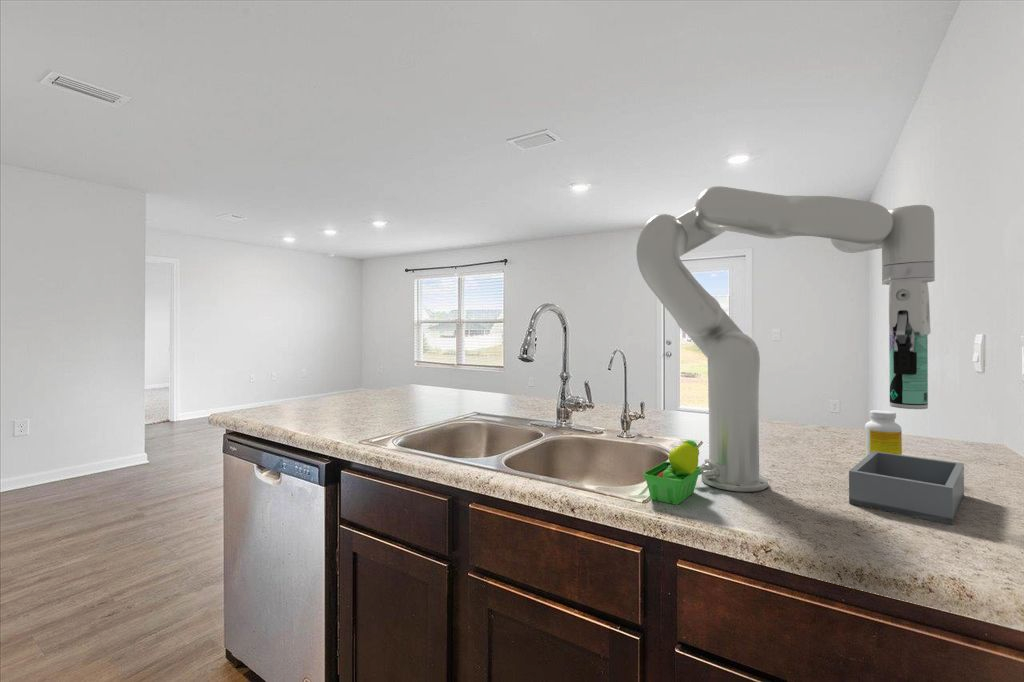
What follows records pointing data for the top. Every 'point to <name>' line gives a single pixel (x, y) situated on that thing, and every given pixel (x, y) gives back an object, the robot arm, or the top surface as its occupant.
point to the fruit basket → (675, 475)
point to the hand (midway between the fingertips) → (908, 372)
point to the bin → (908, 486)
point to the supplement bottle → (883, 433)
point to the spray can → (910, 377)
